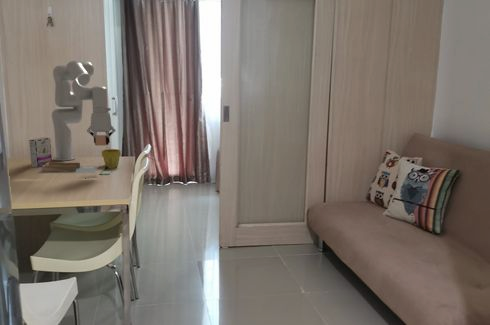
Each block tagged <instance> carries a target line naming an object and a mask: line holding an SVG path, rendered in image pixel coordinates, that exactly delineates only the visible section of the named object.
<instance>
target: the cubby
mask: <svg viewBox="0 0 490 325" xmlns="http://www.w3.org/2000/svg"><path fill="white" fill-rule="evenodd" d="M80 166H81V162H52V163H47V164H45V165H43V166H41V168H42V169H41V170H42V171H43V172H71V171H76V168H80Z"/></svg>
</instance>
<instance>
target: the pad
mask: <svg viewBox="0 0 490 325" xmlns="http://www.w3.org/2000/svg"><path fill="white" fill-rule="evenodd" d="M111 174H112V170H102V171H100V173H99V174H98V175H99V176H100V175H101V176H105V175H108V176H109V175H111Z"/></svg>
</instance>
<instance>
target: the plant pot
mask: <svg viewBox="0 0 490 325" xmlns="http://www.w3.org/2000/svg"><path fill="white" fill-rule="evenodd" d="M121 152H122V150H121V149H117V148H114V149H113V148H108V149H103V150H101V157H102V158H103V161H104V165H105V168H107V169H115V168H116V169H117V168H118V167H119V162H120V157H121V156H122V155H121V154H122V153H121Z"/></svg>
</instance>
